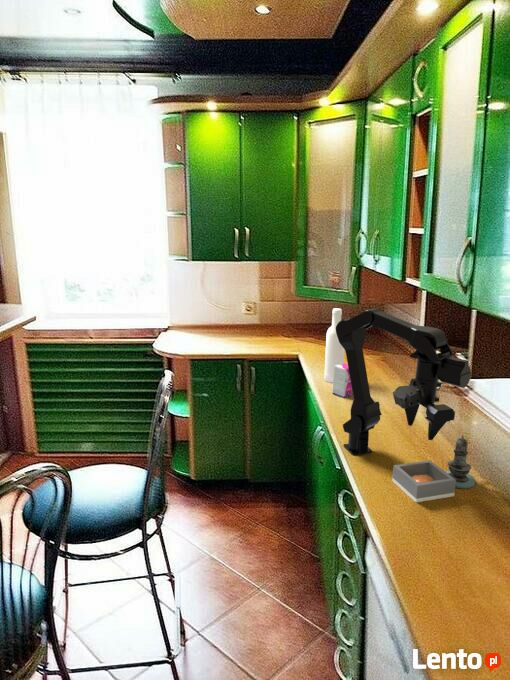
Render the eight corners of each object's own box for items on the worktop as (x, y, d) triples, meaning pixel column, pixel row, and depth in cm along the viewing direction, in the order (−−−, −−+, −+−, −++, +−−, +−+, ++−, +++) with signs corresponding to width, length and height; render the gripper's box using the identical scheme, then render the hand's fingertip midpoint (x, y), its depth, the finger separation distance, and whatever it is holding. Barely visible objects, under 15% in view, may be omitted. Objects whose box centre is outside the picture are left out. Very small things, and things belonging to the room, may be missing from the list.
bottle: (322, 381, 221) (325, 310, 214) (326, 376, 228) (329, 306, 221) (341, 384, 218) (345, 311, 211) (344, 378, 226) (348, 308, 218)
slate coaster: (434, 475, 145) (435, 472, 145) (461, 471, 148) (461, 468, 147) (454, 490, 137) (454, 487, 137) (481, 486, 140) (482, 483, 140)
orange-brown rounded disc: (407, 480, 140) (407, 476, 139) (425, 477, 141) (426, 473, 141) (419, 491, 135) (420, 486, 134) (438, 487, 136) (439, 483, 136)
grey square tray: (392, 480, 142) (393, 465, 141) (428, 475, 145) (429, 460, 144) (415, 502, 132) (417, 485, 130) (454, 496, 135) (456, 479, 134)
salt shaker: (464, 472, 145) (469, 430, 142) (473, 483, 140) (478, 440, 137) (442, 472, 145) (447, 431, 142) (451, 483, 139) (455, 440, 136)
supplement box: (343, 398, 202) (345, 369, 200) (332, 394, 207) (333, 365, 204) (353, 395, 206) (355, 366, 203) (342, 390, 210) (343, 362, 208)
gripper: (380, 368, 145) (375, 421, 150) (421, 392, 128) (414, 451, 132) (416, 365, 149) (410, 417, 153) (460, 388, 132) (452, 446, 136)
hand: (419, 432), depth 143 cm, fingers open, 9 cm apart
